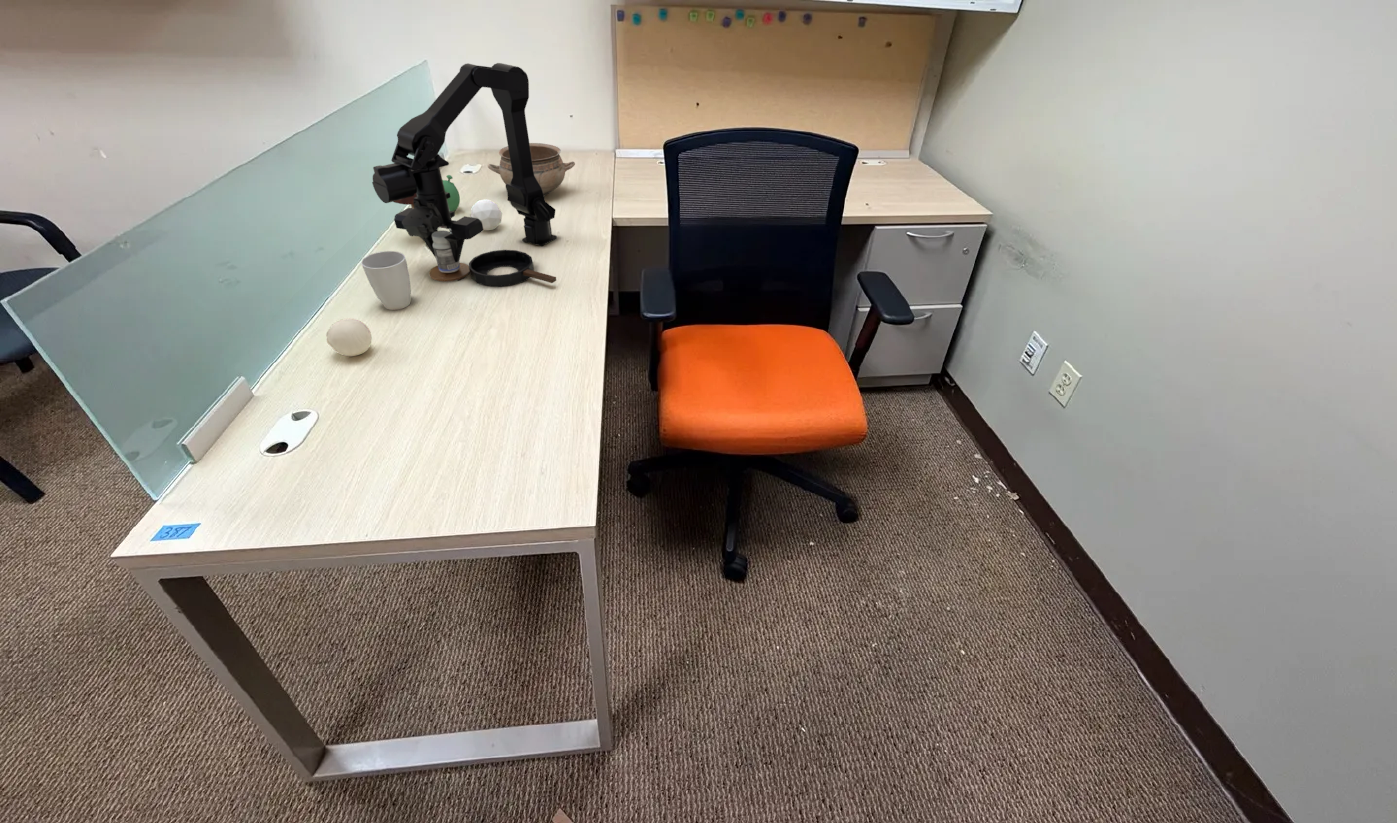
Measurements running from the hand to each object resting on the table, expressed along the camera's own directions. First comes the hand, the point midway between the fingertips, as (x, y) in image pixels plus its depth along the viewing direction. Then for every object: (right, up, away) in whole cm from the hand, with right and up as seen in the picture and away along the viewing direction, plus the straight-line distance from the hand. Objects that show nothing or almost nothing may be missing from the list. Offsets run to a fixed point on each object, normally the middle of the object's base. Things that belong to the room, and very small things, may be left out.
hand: (447, 259), depth 136 cm
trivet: (0, -2, +2) cm, 3 cm away
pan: (+15, -4, +1) cm, 16 cm away
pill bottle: (0, -2, +1) cm, 2 cm away
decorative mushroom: (-12, +10, +17) cm, 23 cm away
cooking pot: (+8, +31, +45) cm, 55 cm away
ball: (+1, +14, +23) cm, 27 cm away
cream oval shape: (-7, -24, -25) cm, 35 cm away
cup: (-6, -12, -10) cm, 17 cm away
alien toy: (-13, +22, +32) cm, 40 cm away
